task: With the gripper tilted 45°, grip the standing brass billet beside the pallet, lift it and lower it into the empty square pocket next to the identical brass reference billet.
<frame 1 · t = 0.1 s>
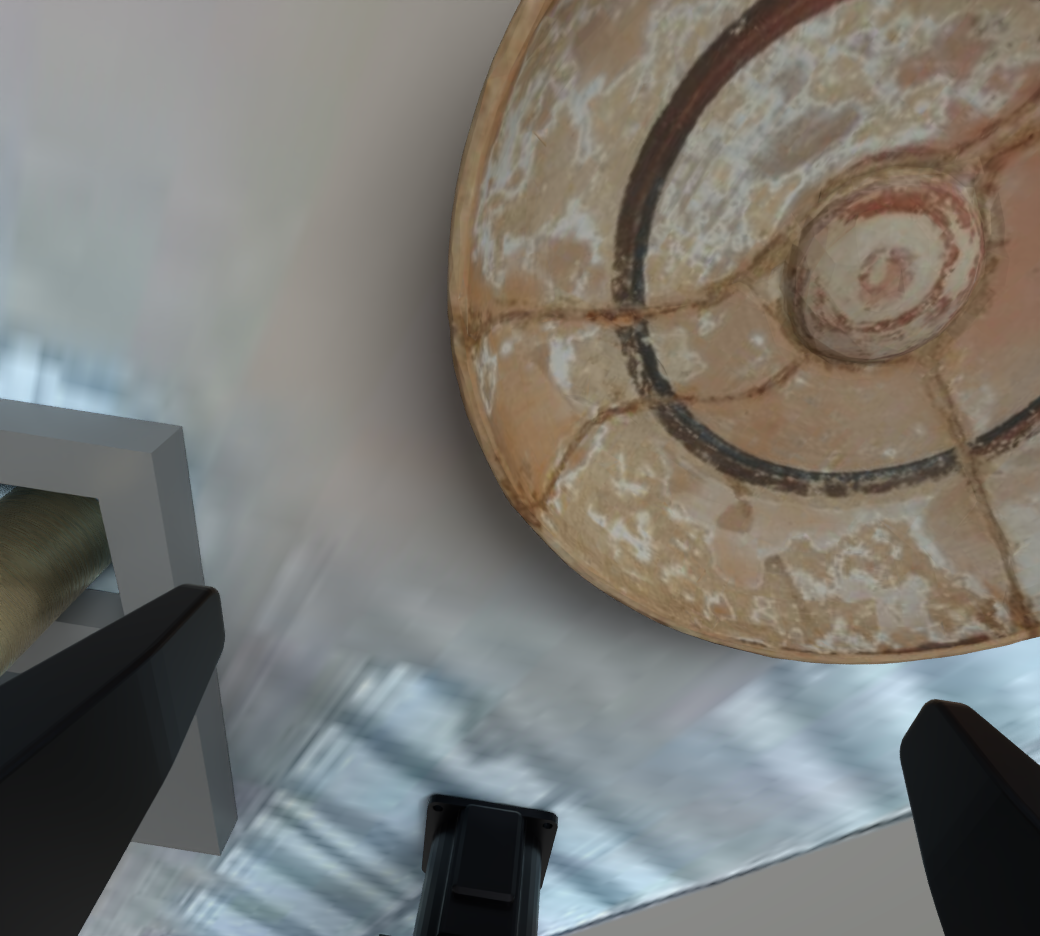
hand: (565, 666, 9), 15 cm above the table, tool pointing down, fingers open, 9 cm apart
pallet: (95, 642, 31), on the table
reference billet: (64, 526, 27), resting in pallet
ceramic bowl: (865, 262, 20), on the table
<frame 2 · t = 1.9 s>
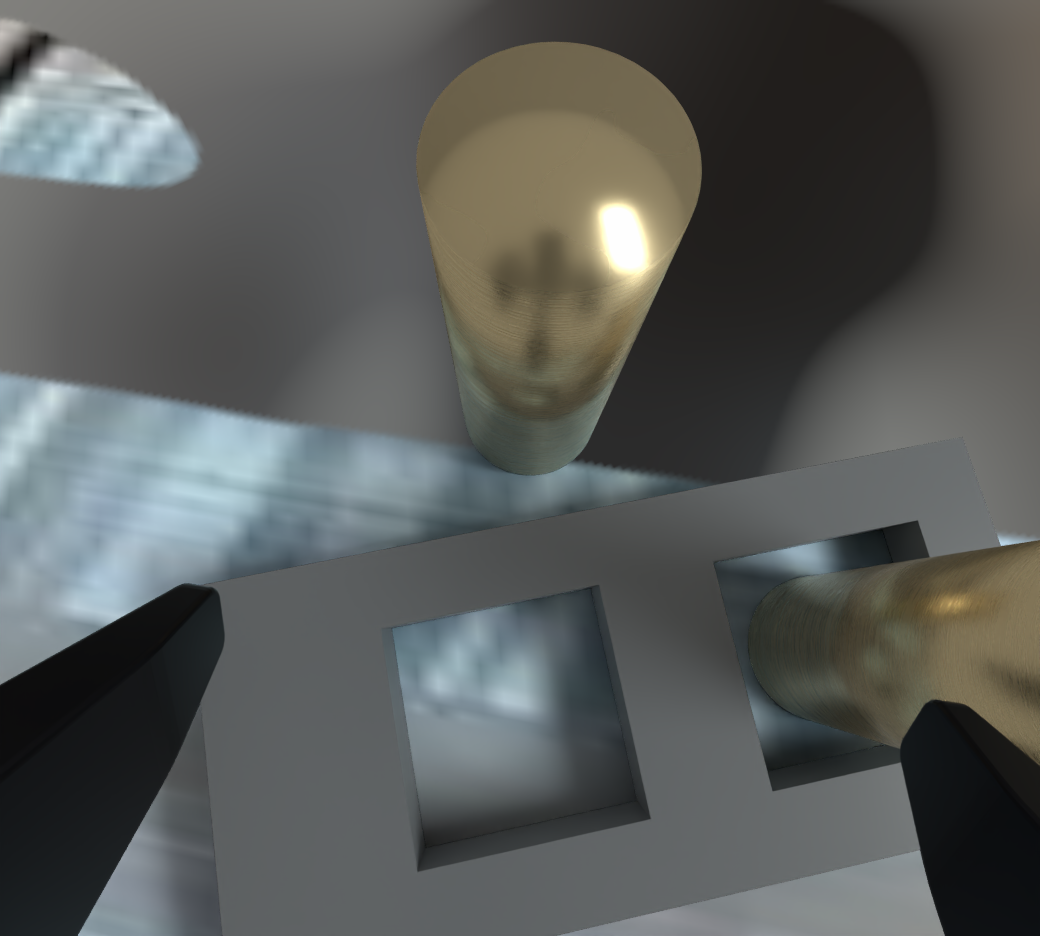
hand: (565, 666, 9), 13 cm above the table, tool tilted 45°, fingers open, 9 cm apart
pallet: (620, 689, 21), on the table
reference billet: (817, 647, 22), resting in pallet
brass billet: (529, 411, 23), on the table
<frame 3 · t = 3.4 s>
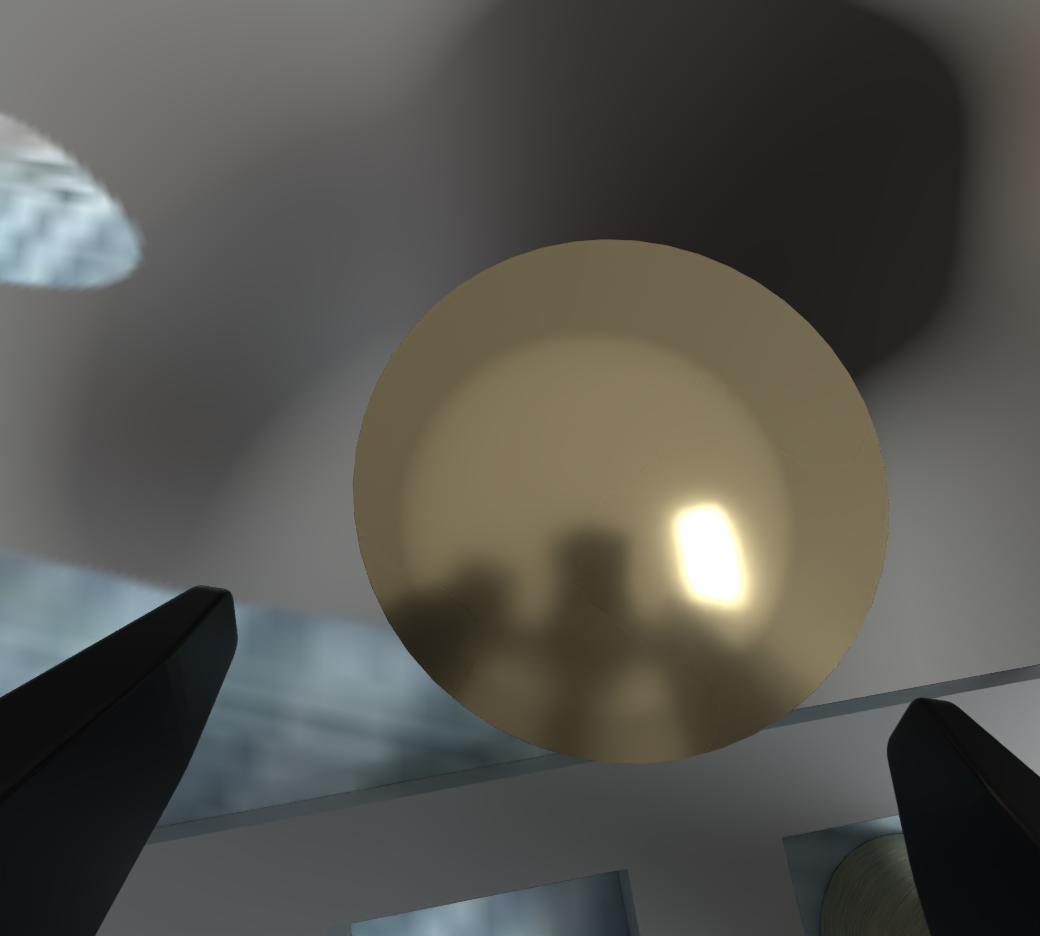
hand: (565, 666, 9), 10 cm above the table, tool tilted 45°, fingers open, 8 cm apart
brass billet: (539, 594, 18), on the table
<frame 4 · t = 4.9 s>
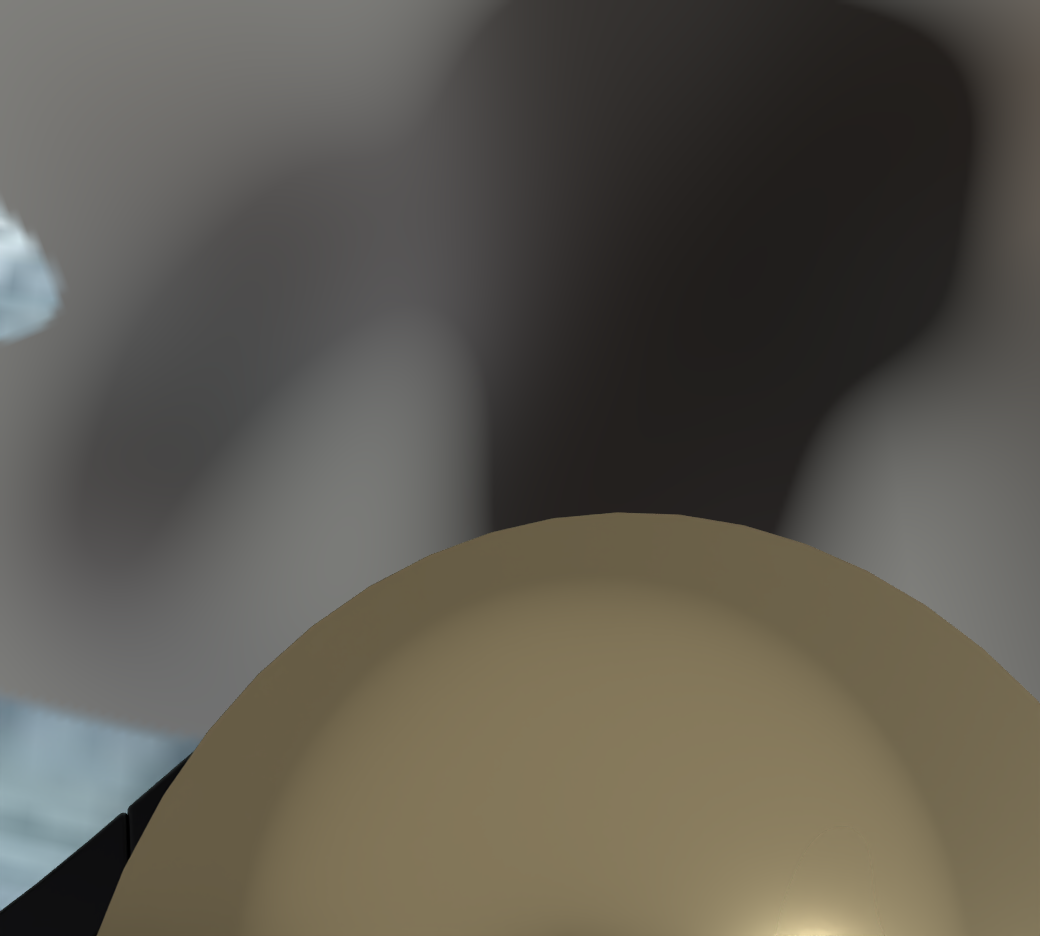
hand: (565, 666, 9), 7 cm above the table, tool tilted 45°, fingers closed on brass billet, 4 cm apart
brass billet: (528, 719, 15), on the table, touching gripper
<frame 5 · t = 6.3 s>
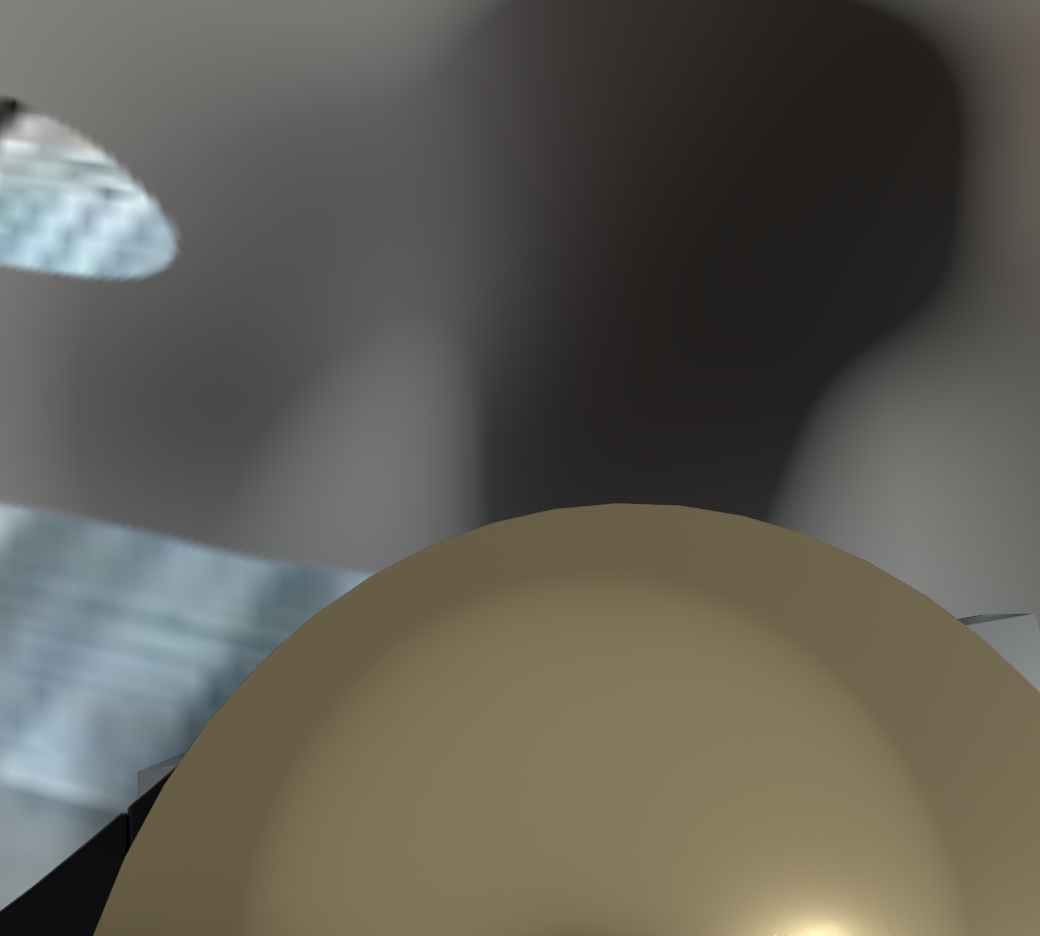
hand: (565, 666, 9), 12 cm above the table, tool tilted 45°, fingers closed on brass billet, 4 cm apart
pallet: (631, 890, 19), on the table
brass billet: (528, 717, 15), point 5 cm above the table, touching gripper
when the fingers open (8 cm above the table, at t = 7.9 s): brass billet drops 1 cm, resting in pallet.
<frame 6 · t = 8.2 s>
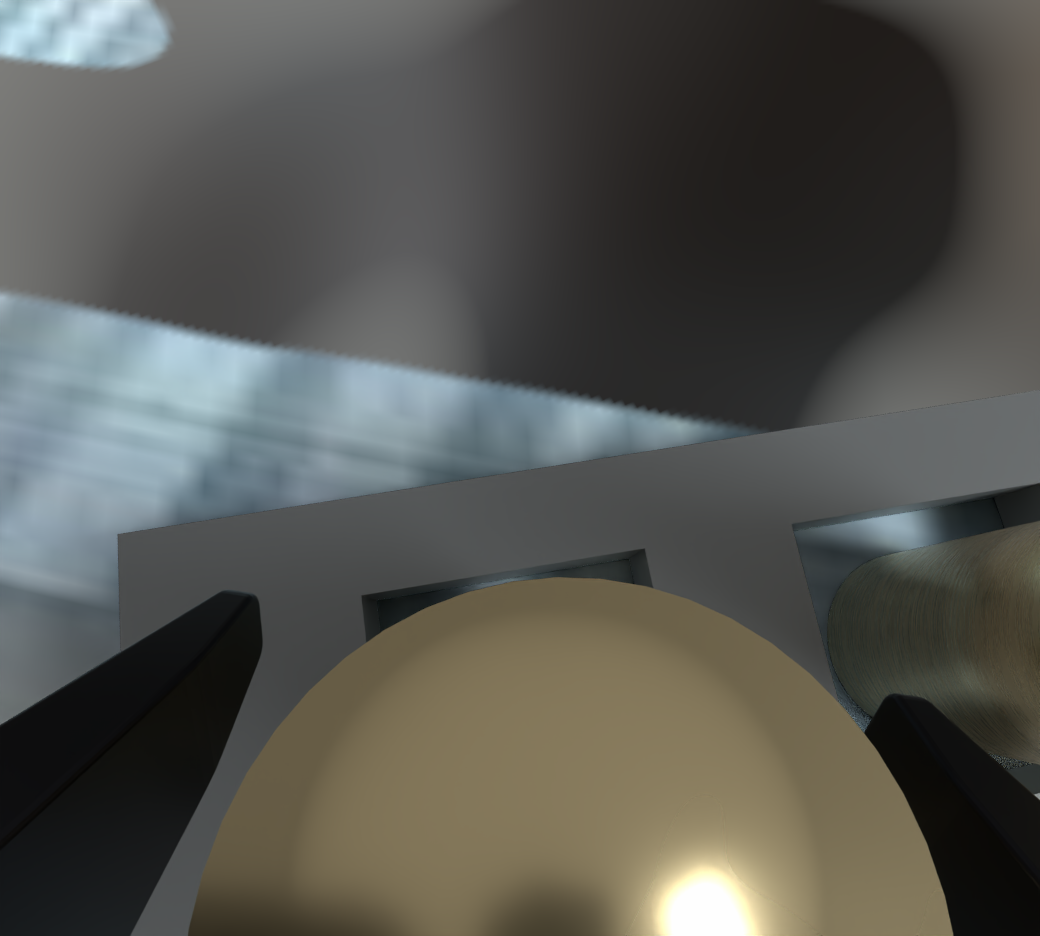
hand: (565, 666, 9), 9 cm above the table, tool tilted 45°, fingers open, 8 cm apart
pallet: (665, 687, 17), on the table
reference billet: (915, 642, 17), resting in pallet
brass billet: (523, 715, 17), resting in pallet
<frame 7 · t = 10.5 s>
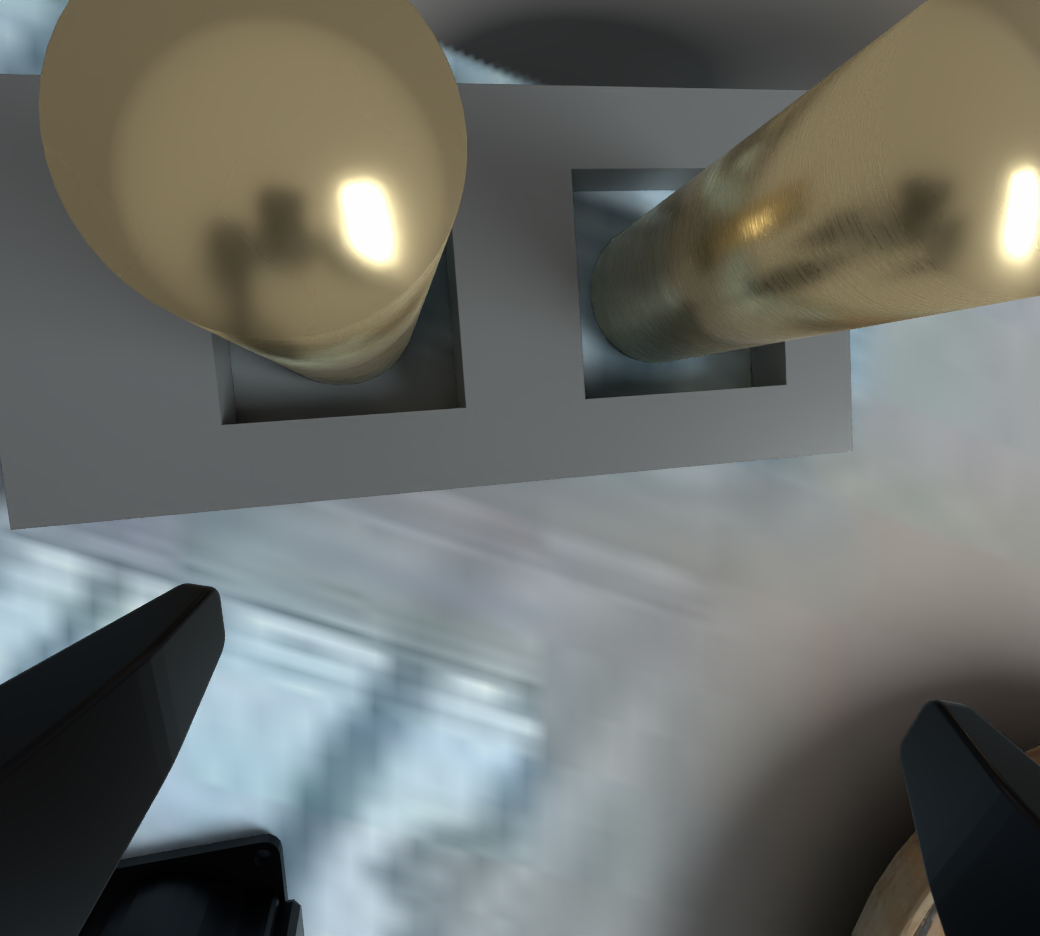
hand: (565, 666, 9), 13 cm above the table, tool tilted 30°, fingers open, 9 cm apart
pallet: (458, 301, 21), on the table
reference billet: (657, 293, 22), resting in pallet
brass billet: (338, 309, 20), resting in pallet
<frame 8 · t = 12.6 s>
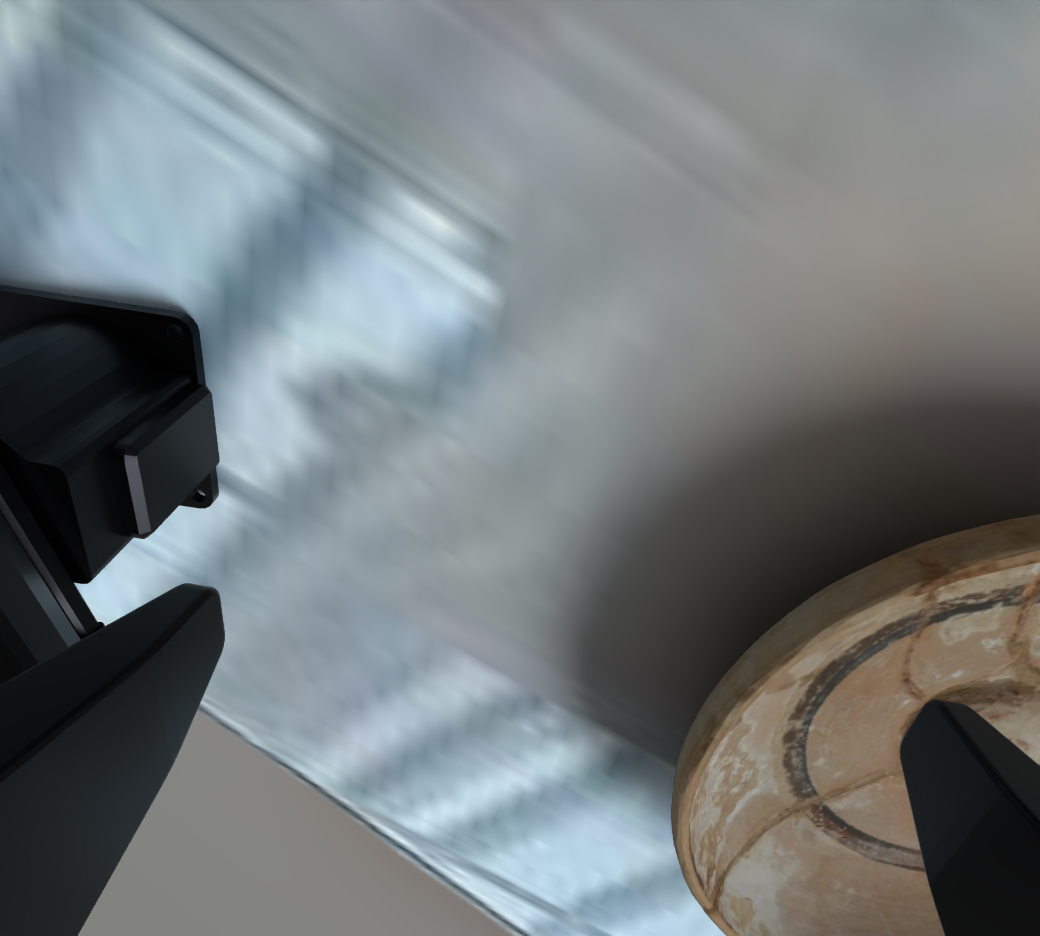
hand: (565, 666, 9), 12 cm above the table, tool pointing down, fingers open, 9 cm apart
ceramic bowl: (978, 713, 25), on the table
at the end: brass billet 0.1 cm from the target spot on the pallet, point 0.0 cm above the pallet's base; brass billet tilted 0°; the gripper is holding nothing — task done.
